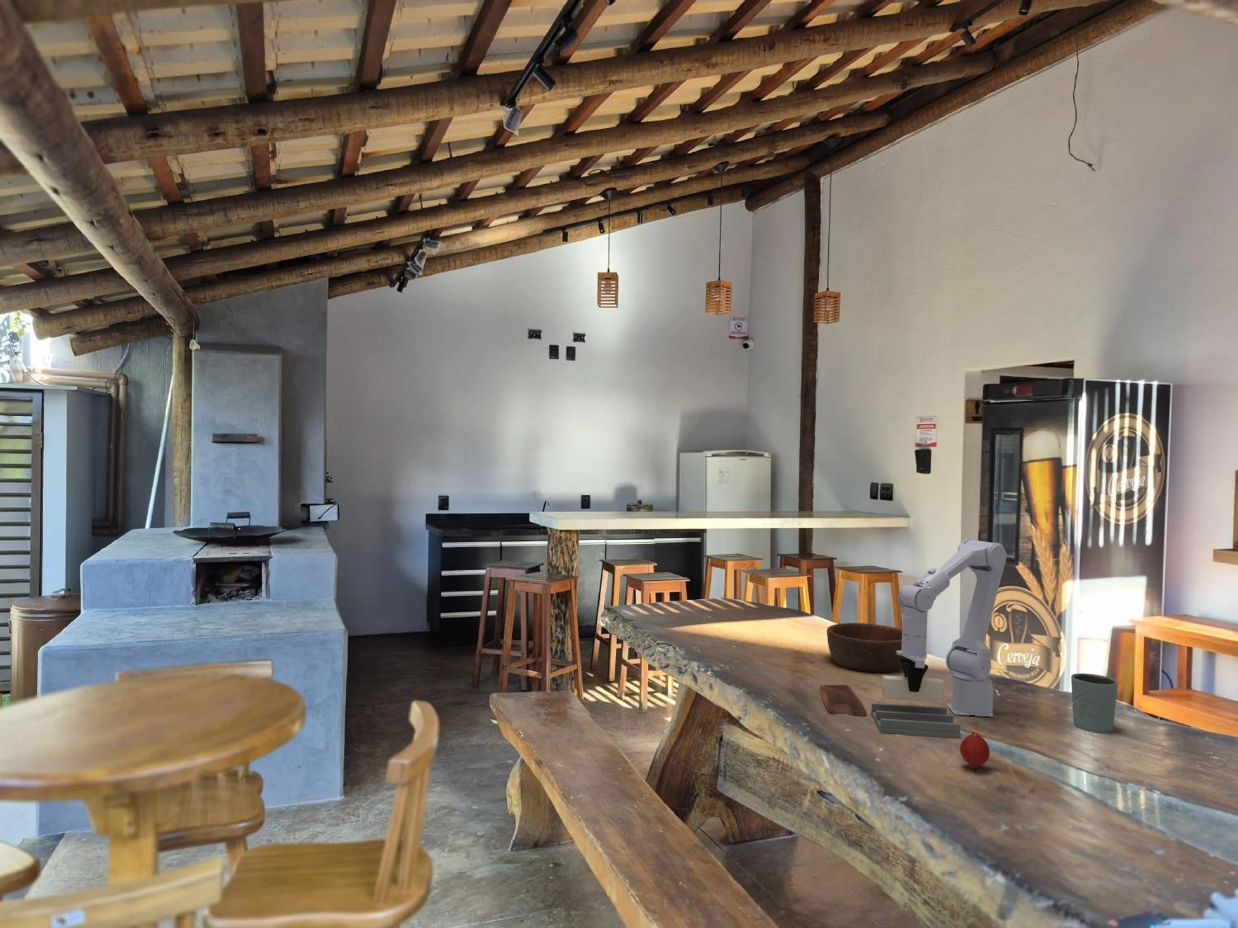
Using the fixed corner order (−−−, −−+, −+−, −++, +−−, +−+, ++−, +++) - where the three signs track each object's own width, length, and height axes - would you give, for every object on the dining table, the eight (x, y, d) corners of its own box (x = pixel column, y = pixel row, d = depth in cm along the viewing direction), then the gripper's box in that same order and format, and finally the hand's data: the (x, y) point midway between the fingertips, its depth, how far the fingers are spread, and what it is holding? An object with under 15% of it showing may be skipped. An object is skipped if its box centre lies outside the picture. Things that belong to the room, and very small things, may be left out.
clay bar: (940, 698, 207) (941, 678, 207) (943, 702, 204) (944, 682, 204) (882, 695, 209) (882, 675, 209) (884, 698, 206) (884, 678, 206)
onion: (964, 760, 182) (965, 723, 182) (992, 767, 178) (993, 730, 178) (955, 767, 177) (957, 730, 177) (984, 775, 174) (985, 737, 174)
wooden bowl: (825, 671, 250) (827, 637, 250) (825, 651, 274) (826, 620, 274) (914, 679, 244) (915, 644, 244) (906, 657, 269) (907, 625, 268)
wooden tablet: (816, 680, 237) (852, 678, 236) (817, 688, 237) (853, 686, 236) (827, 711, 211) (868, 709, 209) (828, 719, 211) (868, 717, 209)
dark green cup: (1092, 735, 200) (1094, 685, 199) (1059, 721, 209) (1061, 673, 209) (1126, 732, 202) (1128, 682, 202) (1092, 718, 212) (1094, 671, 212)
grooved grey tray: (945, 718, 209) (945, 706, 209) (960, 738, 196) (961, 725, 195) (871, 713, 212) (871, 701, 212) (881, 732, 198) (881, 720, 198)
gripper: (891, 627, 214) (890, 679, 214) (903, 640, 199) (901, 697, 200) (920, 628, 213) (918, 681, 213) (934, 642, 198) (932, 699, 199)
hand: (912, 689), depth 206 cm, fingers closed on clay bar, 3 cm apart
